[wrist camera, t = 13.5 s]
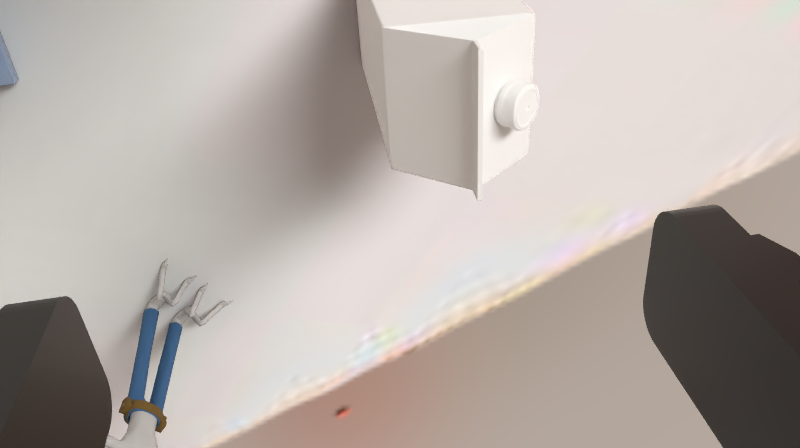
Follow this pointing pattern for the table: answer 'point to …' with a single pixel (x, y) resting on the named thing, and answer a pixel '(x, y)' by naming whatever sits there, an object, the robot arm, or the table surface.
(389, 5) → the milk carton
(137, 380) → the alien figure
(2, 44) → the pedestal
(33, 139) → the table surface
